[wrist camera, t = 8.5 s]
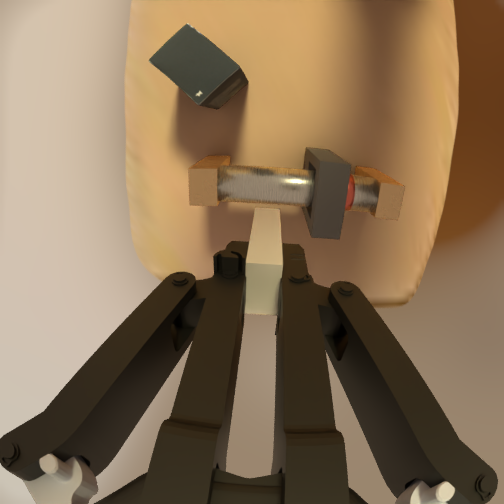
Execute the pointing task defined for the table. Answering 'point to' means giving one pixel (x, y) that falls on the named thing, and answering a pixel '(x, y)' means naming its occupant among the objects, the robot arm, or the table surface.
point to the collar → (327, 193)
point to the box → (199, 68)
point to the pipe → (288, 187)
